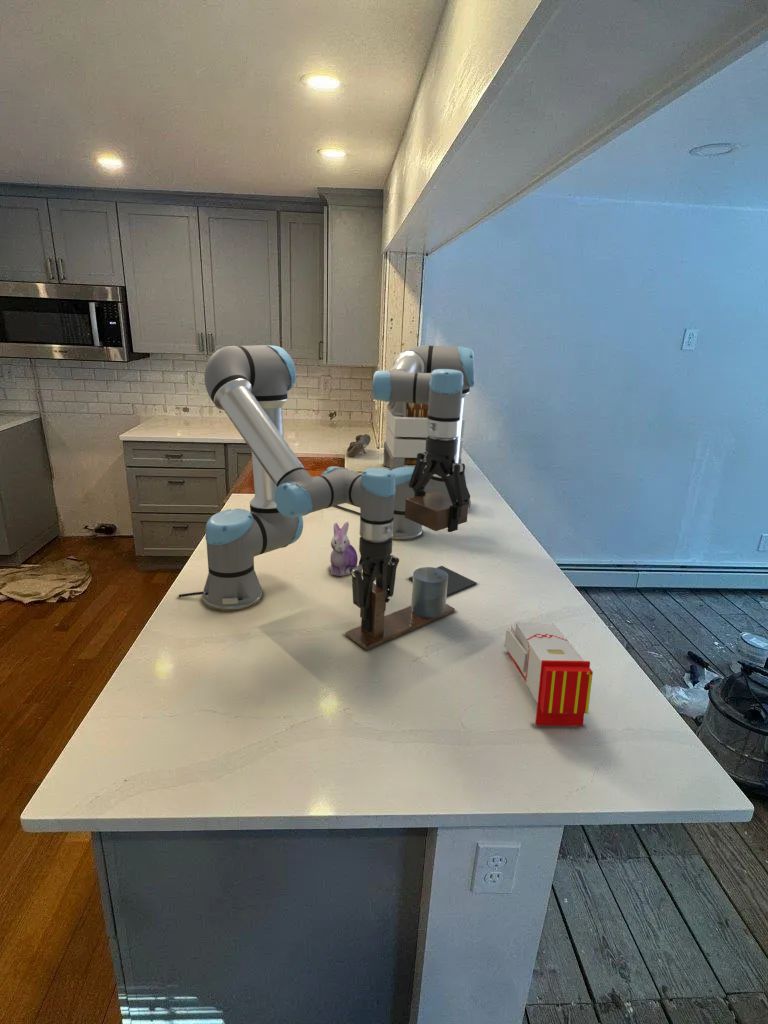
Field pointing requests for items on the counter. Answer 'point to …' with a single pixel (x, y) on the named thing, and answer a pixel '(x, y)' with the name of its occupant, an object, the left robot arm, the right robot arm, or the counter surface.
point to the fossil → (358, 445)
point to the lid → (432, 510)
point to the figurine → (342, 552)
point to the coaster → (455, 581)
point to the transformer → (407, 434)
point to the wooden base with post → (405, 609)
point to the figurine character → (469, 498)
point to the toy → (551, 672)
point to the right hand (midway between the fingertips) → (435, 523)
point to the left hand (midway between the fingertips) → (372, 626)
